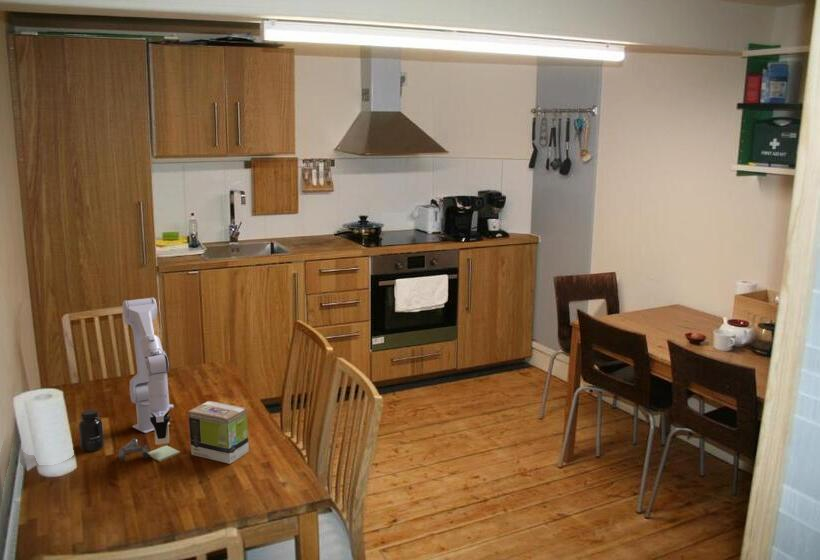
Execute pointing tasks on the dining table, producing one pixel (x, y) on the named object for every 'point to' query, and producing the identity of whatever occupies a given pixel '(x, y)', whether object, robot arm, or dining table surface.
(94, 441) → the supplement bottle
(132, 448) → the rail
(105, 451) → the dining table surface
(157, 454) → the pad
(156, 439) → the block
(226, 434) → the tea box
